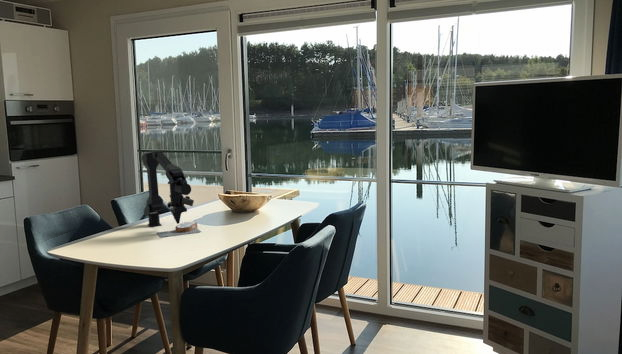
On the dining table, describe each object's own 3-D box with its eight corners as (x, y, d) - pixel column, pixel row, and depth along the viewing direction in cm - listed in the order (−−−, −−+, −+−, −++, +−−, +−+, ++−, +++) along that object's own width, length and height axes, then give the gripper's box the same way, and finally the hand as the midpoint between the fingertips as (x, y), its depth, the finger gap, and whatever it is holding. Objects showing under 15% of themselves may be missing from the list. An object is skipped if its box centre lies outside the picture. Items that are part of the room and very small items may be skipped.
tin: (172, 232, 270) (188, 233, 268) (172, 226, 270) (188, 227, 268) (185, 225, 285) (200, 227, 283) (185, 220, 284) (200, 221, 283)
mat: (157, 233, 272) (157, 232, 272) (196, 228, 280) (196, 227, 280) (160, 237, 262) (160, 236, 262) (201, 232, 270) (201, 231, 270)
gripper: (196, 194, 265) (198, 225, 267) (187, 189, 282) (189, 218, 284) (173, 196, 260) (175, 227, 262) (166, 191, 277) (168, 221, 279)
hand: (177, 223), depth 272 cm, fingers closed
